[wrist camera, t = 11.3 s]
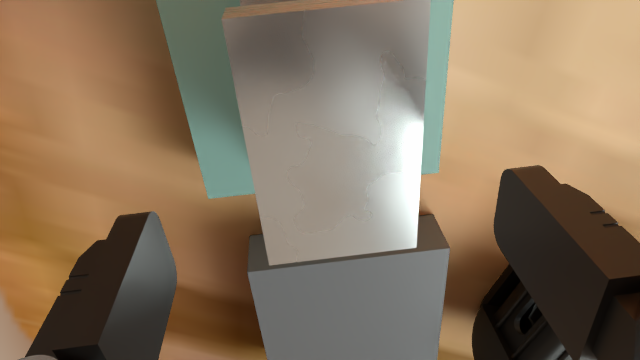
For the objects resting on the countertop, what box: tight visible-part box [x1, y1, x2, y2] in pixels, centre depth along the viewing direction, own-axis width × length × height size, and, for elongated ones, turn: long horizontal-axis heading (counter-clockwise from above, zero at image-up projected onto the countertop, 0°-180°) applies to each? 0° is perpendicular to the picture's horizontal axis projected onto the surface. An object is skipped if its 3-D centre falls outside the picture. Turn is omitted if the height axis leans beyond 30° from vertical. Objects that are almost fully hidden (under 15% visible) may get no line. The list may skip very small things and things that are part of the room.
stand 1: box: [156, 0, 454, 199], centre depth 19 cm, size 11×11×3 cm
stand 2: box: [247, 214, 450, 360], centre depth 28 cm, size 11×11×3 cm
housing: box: [221, 0, 431, 265], centre depth 15 cm, size 8×5×6 cm, turn 5°
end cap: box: [472, 264, 572, 360], centre depth 29 cm, size 10×7×7 cm
